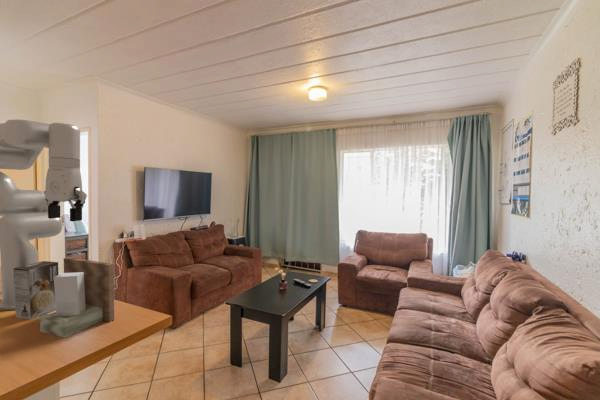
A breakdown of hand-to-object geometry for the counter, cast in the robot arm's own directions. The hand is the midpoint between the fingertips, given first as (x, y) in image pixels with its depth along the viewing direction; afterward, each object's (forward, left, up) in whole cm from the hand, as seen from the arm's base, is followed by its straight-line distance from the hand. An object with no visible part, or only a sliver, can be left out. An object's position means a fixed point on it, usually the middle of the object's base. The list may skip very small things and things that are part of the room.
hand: (65, 219), depth 90 cm
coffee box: (-12, -1, -32) cm, 34 cm away
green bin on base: (+5, -2, -31) cm, 32 cm away
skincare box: (+7, -4, -28) cm, 29 cm away
